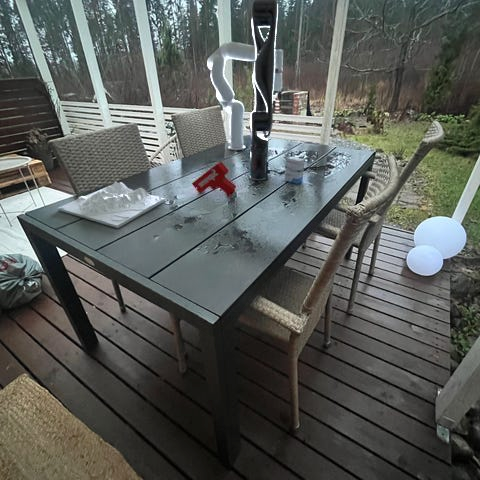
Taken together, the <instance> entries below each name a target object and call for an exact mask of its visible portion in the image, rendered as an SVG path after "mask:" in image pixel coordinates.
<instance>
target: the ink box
mask: <svg viewBox="0 0 480 480" xmlns="http://www.w3.org/2000/svg"><path fill="white" fill-rule="evenodd" d="M305 162H306V159H304V158H299V157H294V156H290V157H289V156H288V157H286V158H285V169H284V171H285V172H284V181H285V182H289V183H293V184H295V185H298V184H300V183H302V182H303V180H304V173H305V171H304V170H305V169H304V167H305Z"/></svg>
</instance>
